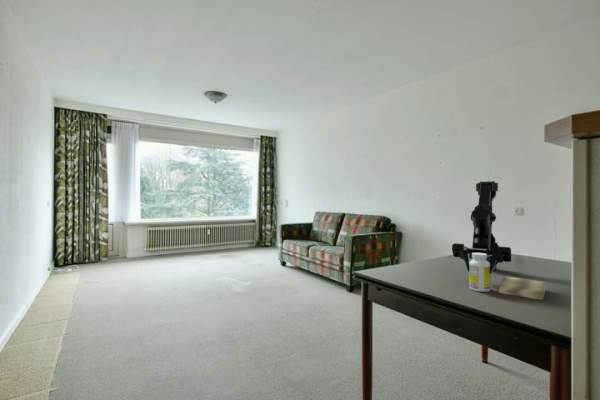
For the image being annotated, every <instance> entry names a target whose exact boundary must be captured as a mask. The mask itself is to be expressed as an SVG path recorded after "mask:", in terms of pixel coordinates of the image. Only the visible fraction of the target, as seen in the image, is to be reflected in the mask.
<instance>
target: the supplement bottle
mask: <svg viewBox="0 0 600 400" xmlns="http://www.w3.org/2000/svg"><path fill="white" fill-rule="evenodd" d="M472 258H473V260H472V259H470V260H469V271H468V274H469V275H468V281H469V283H468V285H469V286H468V287H469V289H470V290H472V291H476V292H479V293H481V292H482V293H483V292H484V293H486V292H490V291H491V290H492V289H491V284H492V283H491V274H490V263H489V262H488V261H487V260H486V259H487V254H485V253H472Z"/></svg>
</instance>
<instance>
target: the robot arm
mask: <svg viewBox="0 0 600 400" xmlns="http://www.w3.org/2000/svg"><path fill="white" fill-rule="evenodd" d="M475 192H477V195H478V204H476V206H474V210H472V212H471V214H470V221H471V222H472V225H473V234H472V245H471V246H472V247H468V246H465V244H464V243H454V242H453V244H452V245H451V252H452V256H453V257H454V258H459V259H461V260H463V261H464V264H465V267H466V269H467V272H469V262H470V260H473V258H472V253H485V254H487V259H486V260H487V261H488V262H489V263H490V275H492V274H493V272H494V271H495V270H496V269H497V265H498V264H503V262H504V263H511V262H512V248H511V247H510V246H501V245H499V244H498V242H496V237H495V236H494V234H493V233H492V229H493V223H495V222H496V220H497V216H496V214H495V212H493V201H494V199H495V198H496V197H497V192H499V183H498V182H496V181H494V180H493V181H492V180H491V181H489V180H488V181H479V182H477V183H476V184H475Z"/></svg>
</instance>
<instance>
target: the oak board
mask: <svg viewBox="0 0 600 400" xmlns="http://www.w3.org/2000/svg"><path fill="white" fill-rule="evenodd" d="M546 284H547V283H546V281H540V280H534V279H533V280H532V279H528V278H527V279H525V278H520V277H513V276H512V277H511V276H504V277H503V279H502V280H501V281H500V282H499V286H498V287H499V288H498V291H499V293H500V294H504V295H510V296H515V297H523V298H528V299H529V298H530V299H534V300H541V301H544V298H545V293H546V290H547V289H546V288H547V286H546Z"/></svg>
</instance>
